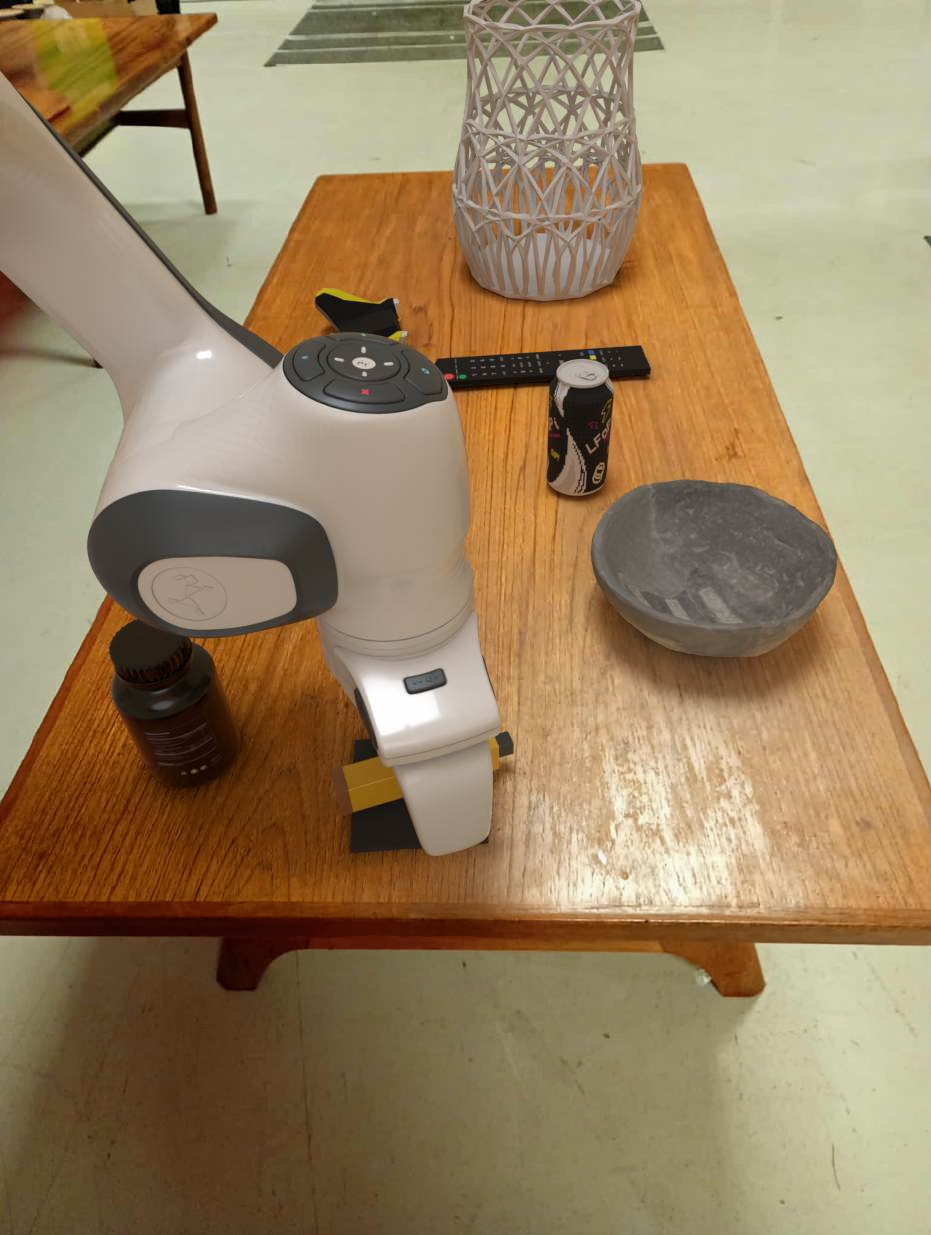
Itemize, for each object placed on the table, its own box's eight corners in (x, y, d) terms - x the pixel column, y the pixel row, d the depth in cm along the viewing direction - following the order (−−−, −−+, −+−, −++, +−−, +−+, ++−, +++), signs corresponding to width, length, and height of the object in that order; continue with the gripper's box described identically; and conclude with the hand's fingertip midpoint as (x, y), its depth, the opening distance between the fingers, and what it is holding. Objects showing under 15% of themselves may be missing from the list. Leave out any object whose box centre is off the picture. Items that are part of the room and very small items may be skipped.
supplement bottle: (142, 733, 66) (87, 618, 57) (234, 705, 67) (194, 590, 59) (153, 806, 61) (95, 693, 53) (251, 775, 63) (210, 660, 54)
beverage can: (580, 509, 83) (588, 395, 74) (533, 485, 86) (536, 373, 77) (617, 481, 86) (629, 369, 77) (571, 459, 89) (577, 348, 80)
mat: (351, 853, 58) (350, 850, 58) (355, 743, 64) (354, 739, 64) (488, 843, 58) (488, 839, 58) (478, 734, 65) (478, 730, 64)
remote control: (649, 379, 99) (650, 368, 98) (434, 393, 98) (434, 382, 98) (639, 356, 103) (641, 345, 102) (433, 369, 102) (432, 358, 101)
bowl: (548, 581, 76) (551, 507, 70) (720, 524, 81) (736, 449, 75) (664, 732, 64) (678, 656, 58) (858, 654, 69) (889, 577, 63)
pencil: (341, 816, 59) (336, 793, 57) (335, 791, 60) (329, 768, 58) (516, 765, 61) (516, 741, 59) (506, 742, 62) (505, 718, 61)
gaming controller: (327, 388, 100) (415, 377, 101) (320, 343, 96) (411, 332, 97) (318, 327, 111) (398, 318, 112) (311, 284, 107) (394, 275, 108)
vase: (632, 233, 128) (656, -20, 107) (637, 310, 111) (666, 27, 90) (465, 232, 130) (456, -15, 109) (445, 308, 113) (429, 32, 92)
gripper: (305, 524, 56) (336, 670, 66) (388, 777, 42) (412, 915, 52) (401, 502, 57) (417, 649, 67) (513, 741, 43) (513, 882, 53)
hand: (416, 767), depth 59 cm, fingers closed on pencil, 2 cm apart
